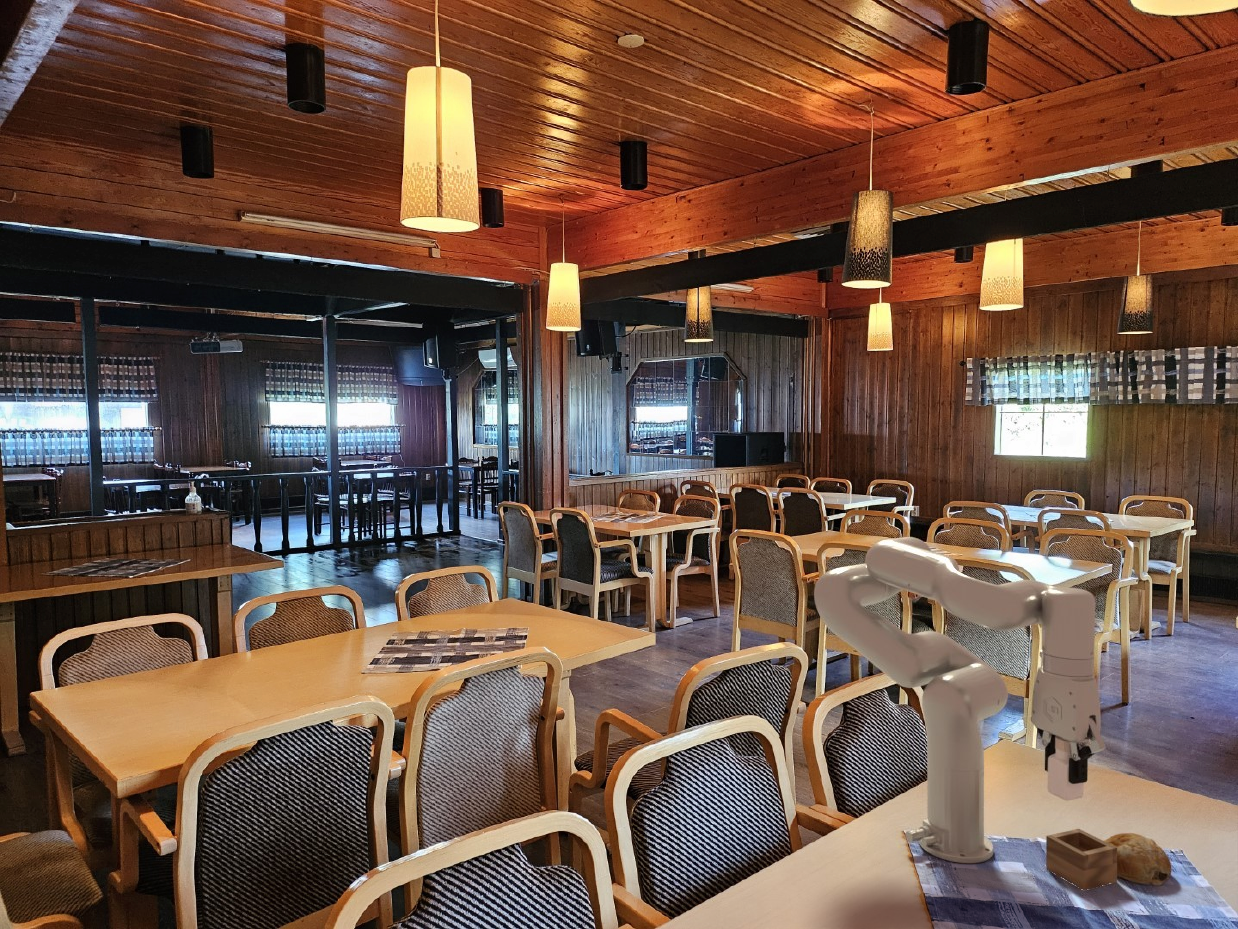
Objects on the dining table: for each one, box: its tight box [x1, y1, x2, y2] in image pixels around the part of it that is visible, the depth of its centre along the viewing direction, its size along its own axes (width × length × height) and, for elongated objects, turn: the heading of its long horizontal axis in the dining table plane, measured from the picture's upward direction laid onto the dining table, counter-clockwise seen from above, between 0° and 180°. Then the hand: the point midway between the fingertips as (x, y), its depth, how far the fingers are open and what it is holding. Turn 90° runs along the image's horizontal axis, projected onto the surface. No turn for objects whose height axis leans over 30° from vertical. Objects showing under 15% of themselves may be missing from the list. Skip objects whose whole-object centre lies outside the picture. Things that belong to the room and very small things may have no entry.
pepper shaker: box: [1047, 736, 1085, 802], centre depth 135 cm, size 4×4×10 cm
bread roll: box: [1104, 832, 1173, 887], centre depth 142 cm, size 10×10×8 cm
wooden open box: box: [1045, 828, 1118, 891], centre depth 141 cm, size 7×7×6 cm
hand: (1065, 775), depth 135 cm, fingers closed on pepper shaker, 4 cm apart
